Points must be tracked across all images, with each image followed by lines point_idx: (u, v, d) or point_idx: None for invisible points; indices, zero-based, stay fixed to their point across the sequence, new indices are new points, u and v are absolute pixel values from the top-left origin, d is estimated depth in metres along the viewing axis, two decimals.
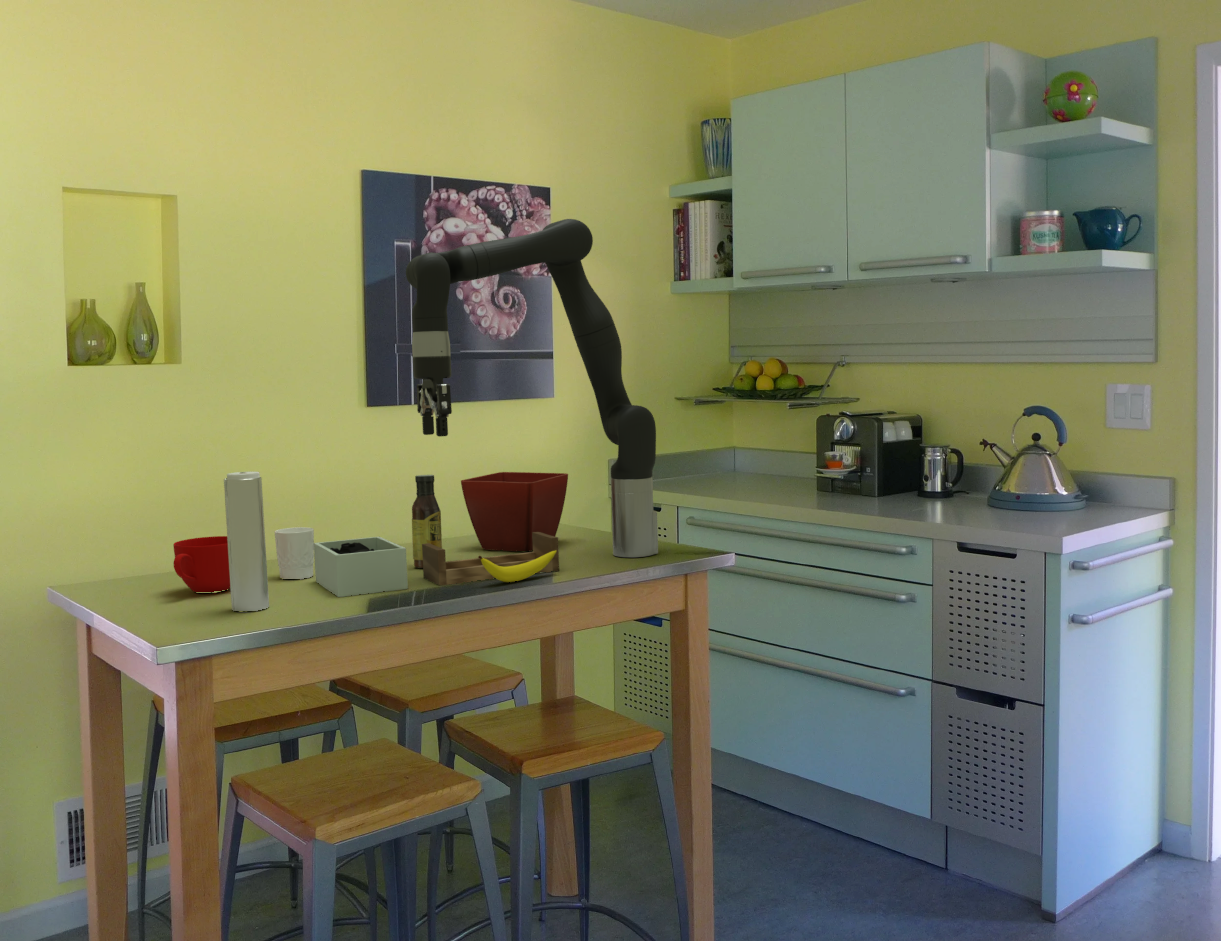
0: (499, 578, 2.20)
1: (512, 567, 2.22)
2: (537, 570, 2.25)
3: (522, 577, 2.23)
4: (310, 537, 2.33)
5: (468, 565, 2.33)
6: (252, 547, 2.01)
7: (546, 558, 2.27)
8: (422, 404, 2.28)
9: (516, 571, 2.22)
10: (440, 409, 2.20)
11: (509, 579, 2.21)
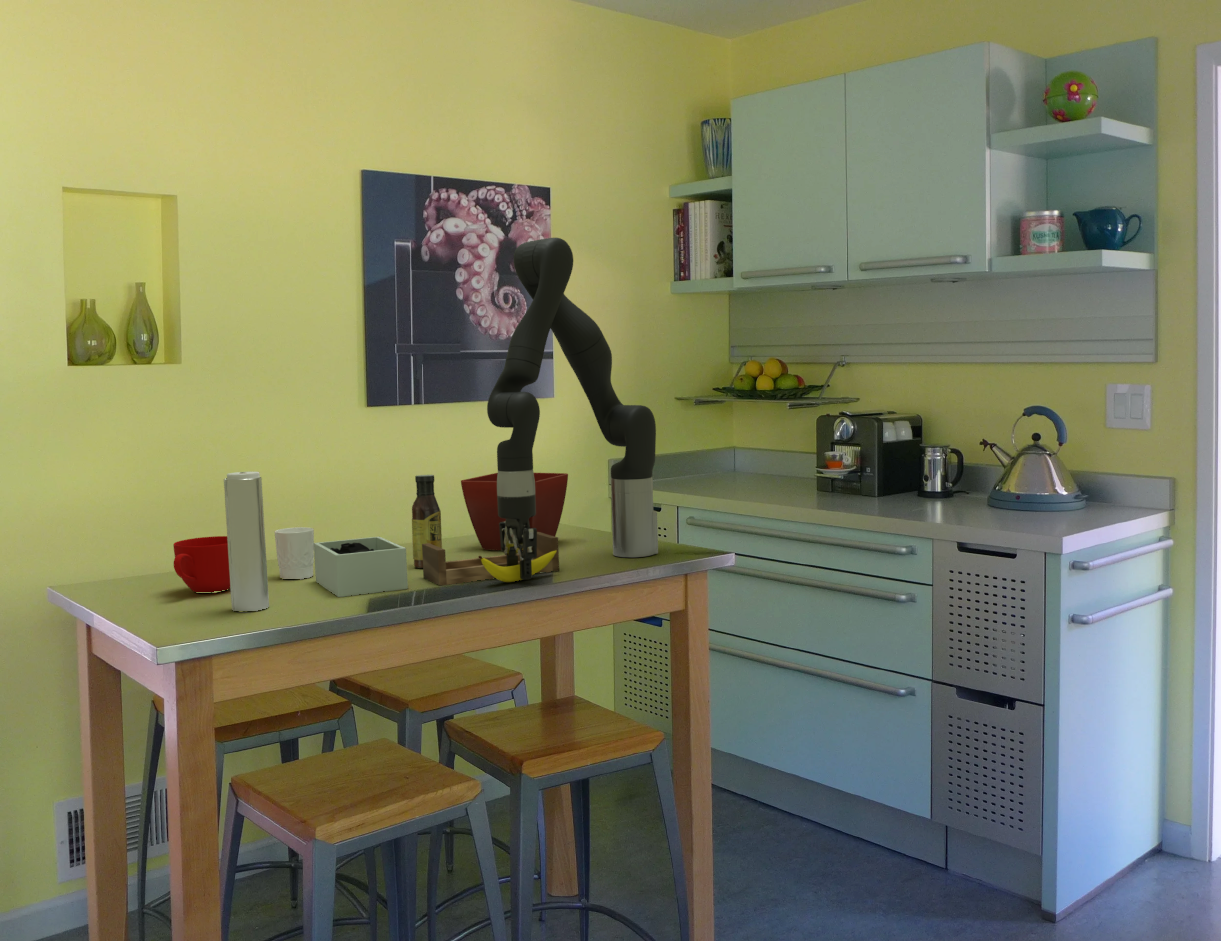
0: (499, 578, 2.20)
1: (512, 567, 2.22)
2: (537, 570, 2.25)
3: None
4: (310, 537, 2.33)
5: (468, 565, 2.33)
6: (252, 547, 2.01)
7: (546, 558, 2.27)
8: (506, 543, 2.24)
9: (516, 571, 2.22)
10: (525, 554, 2.17)
11: (509, 579, 2.21)
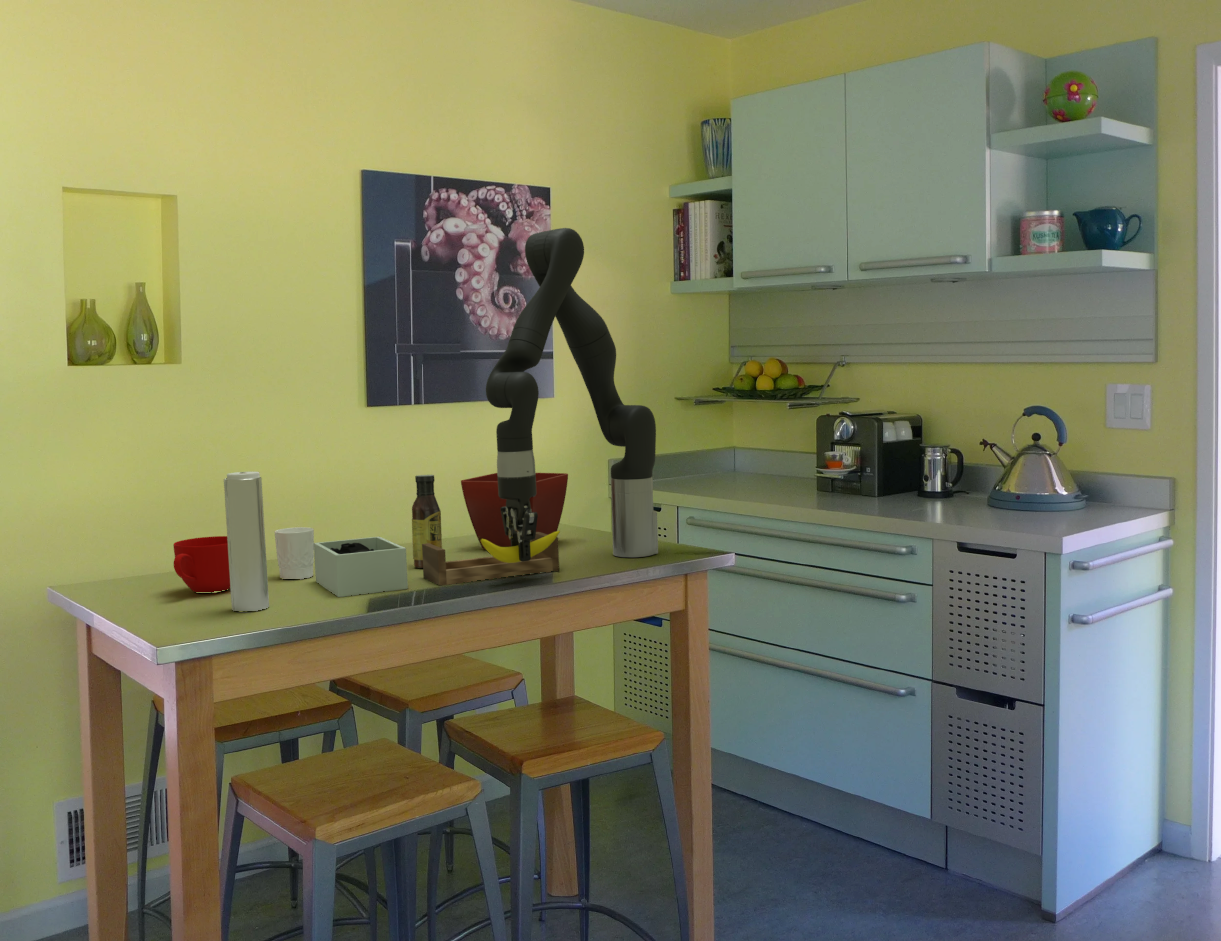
0: (499, 559, 2.20)
1: (513, 548, 2.22)
2: (539, 550, 2.25)
3: None
4: (310, 537, 2.33)
5: (468, 565, 2.33)
6: (252, 547, 2.01)
7: (549, 538, 2.27)
8: (509, 524, 2.24)
9: (517, 552, 2.22)
10: (524, 537, 2.19)
11: (510, 560, 2.21)
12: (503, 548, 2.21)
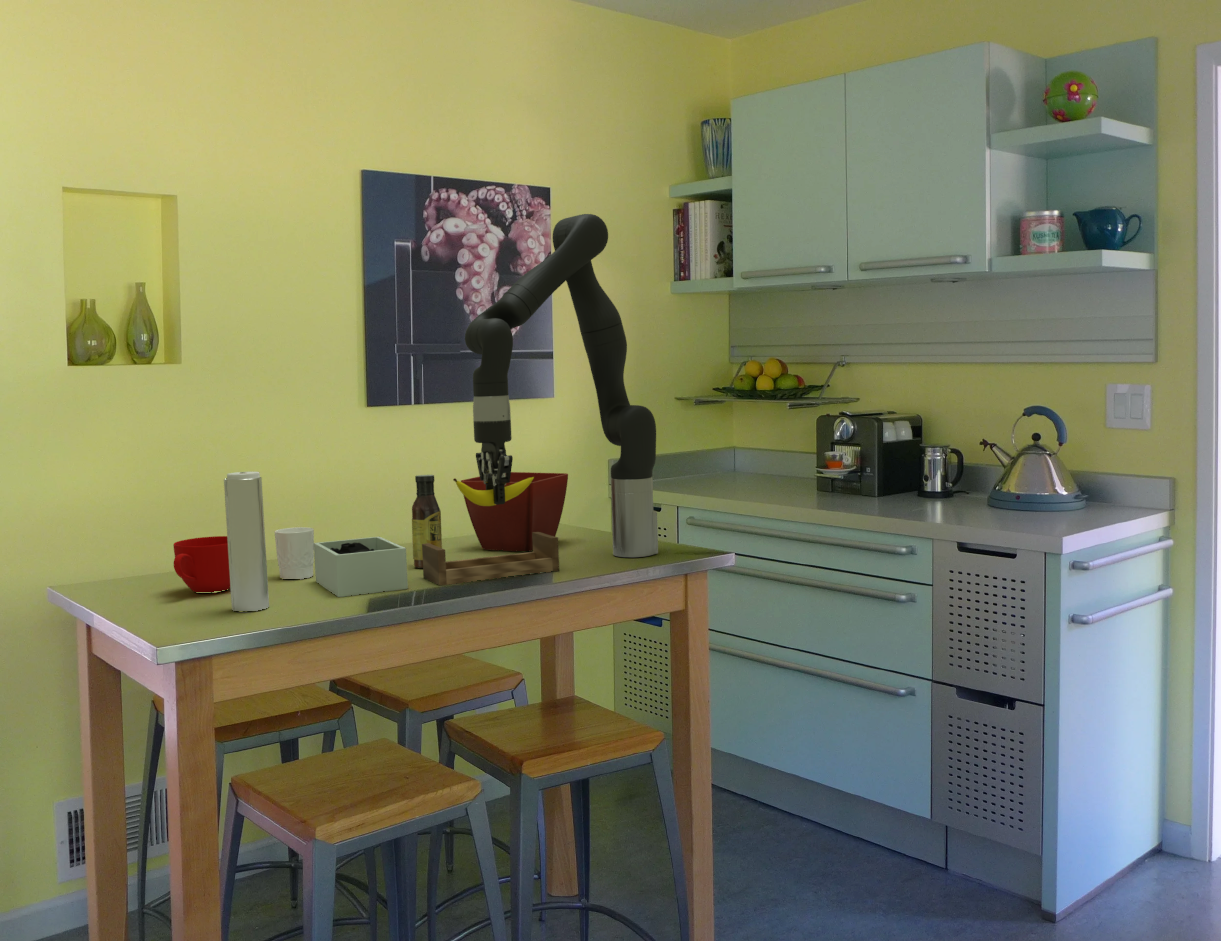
0: (474, 501, 2.25)
1: (488, 491, 2.27)
2: (513, 495, 2.30)
3: None
4: (310, 537, 2.33)
5: (468, 565, 2.33)
6: (252, 547, 2.01)
7: (523, 484, 2.31)
8: (484, 469, 2.28)
9: (492, 495, 2.26)
10: (499, 480, 2.23)
11: (484, 502, 2.25)
12: (478, 491, 2.25)
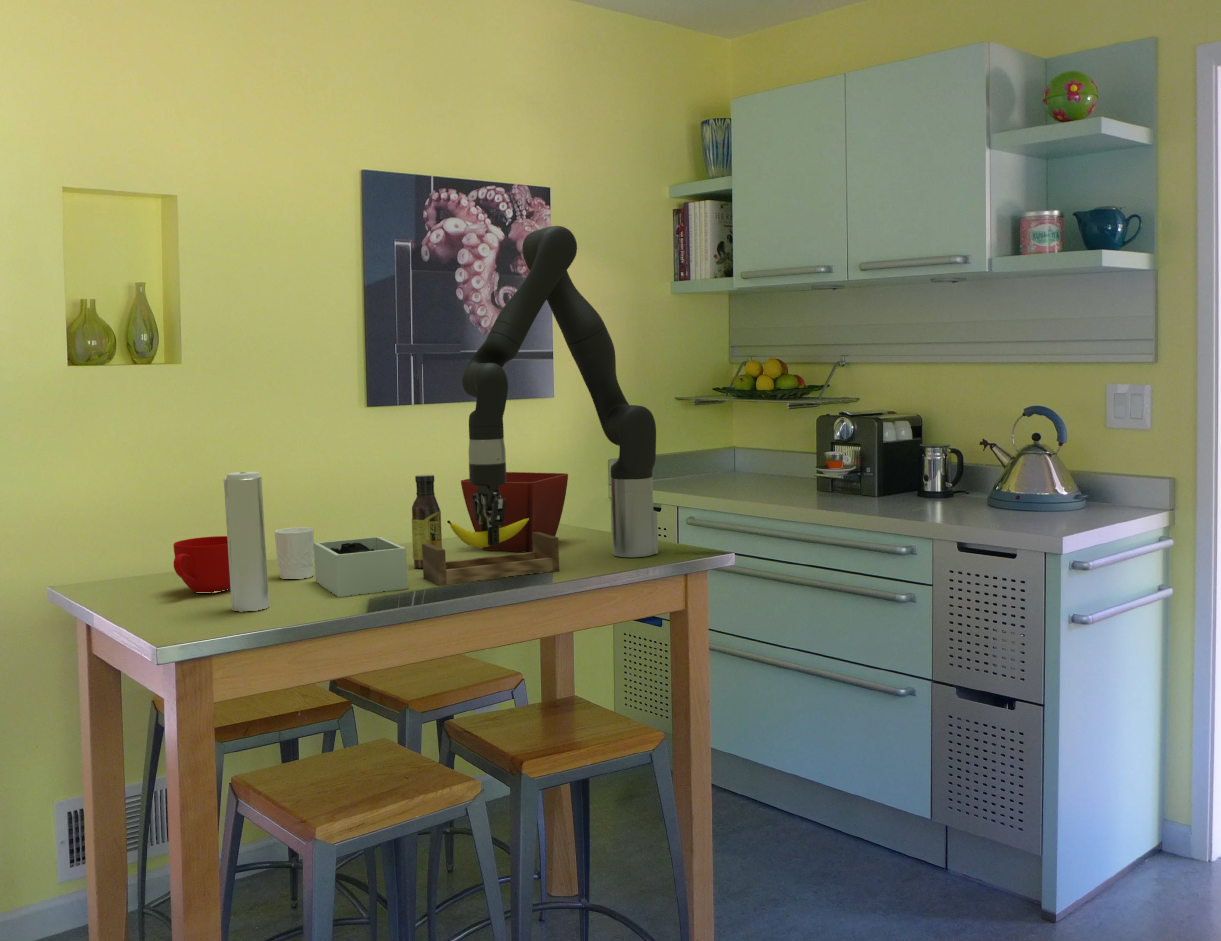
0: (468, 543, 2.28)
1: (482, 533, 2.29)
2: (507, 536, 2.32)
3: None
4: (310, 537, 2.33)
5: (468, 565, 2.33)
6: (252, 547, 2.01)
7: (517, 525, 2.34)
8: (479, 510, 2.31)
9: (485, 537, 2.29)
10: (493, 522, 2.26)
11: (478, 544, 2.28)
12: (472, 533, 2.28)
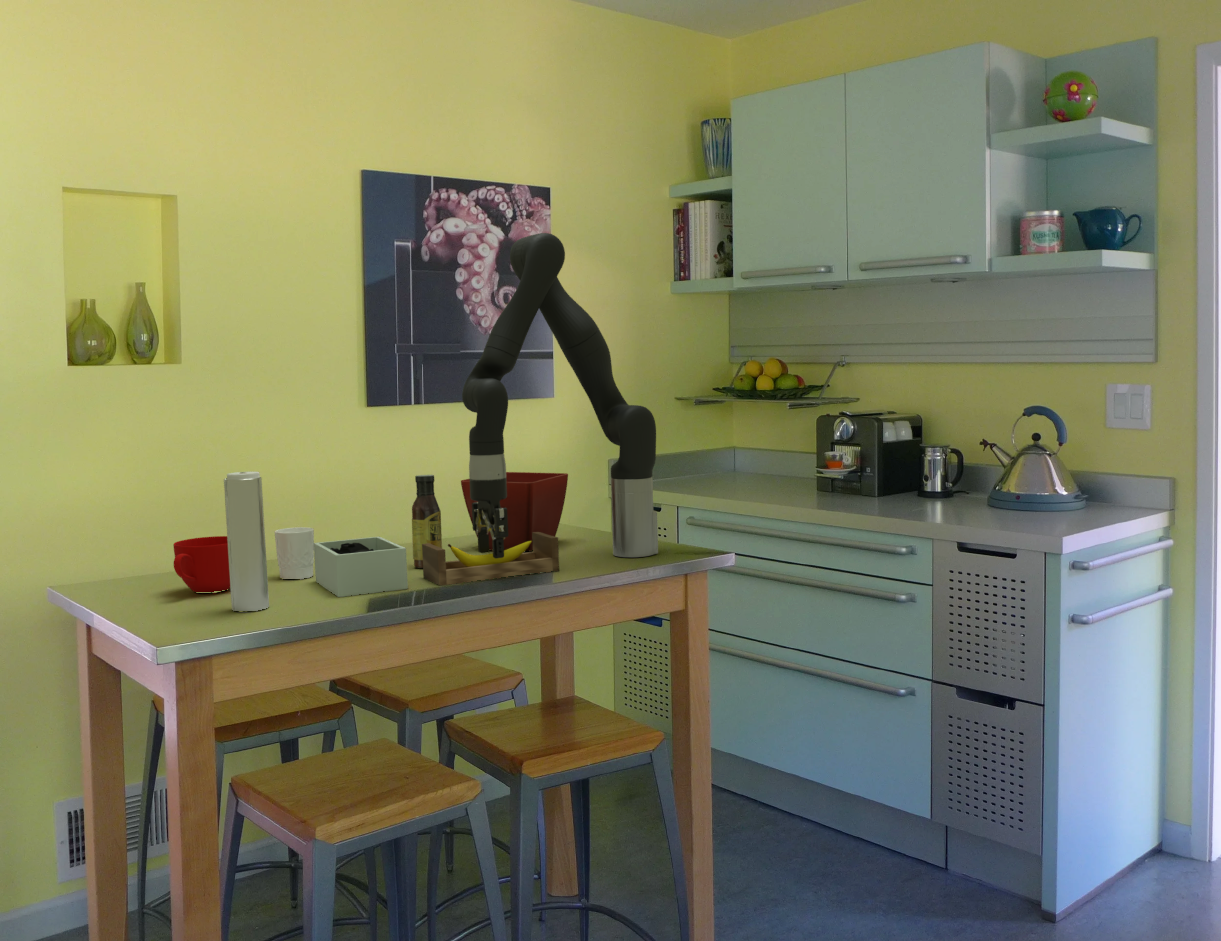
0: (469, 566, 2.28)
1: (483, 556, 2.30)
2: (509, 559, 2.33)
3: None
4: (310, 537, 2.33)
5: None
6: (252, 547, 2.01)
7: (520, 548, 2.34)
8: (478, 523, 2.32)
9: (487, 560, 2.30)
10: (497, 533, 2.24)
11: None
12: (473, 556, 2.29)
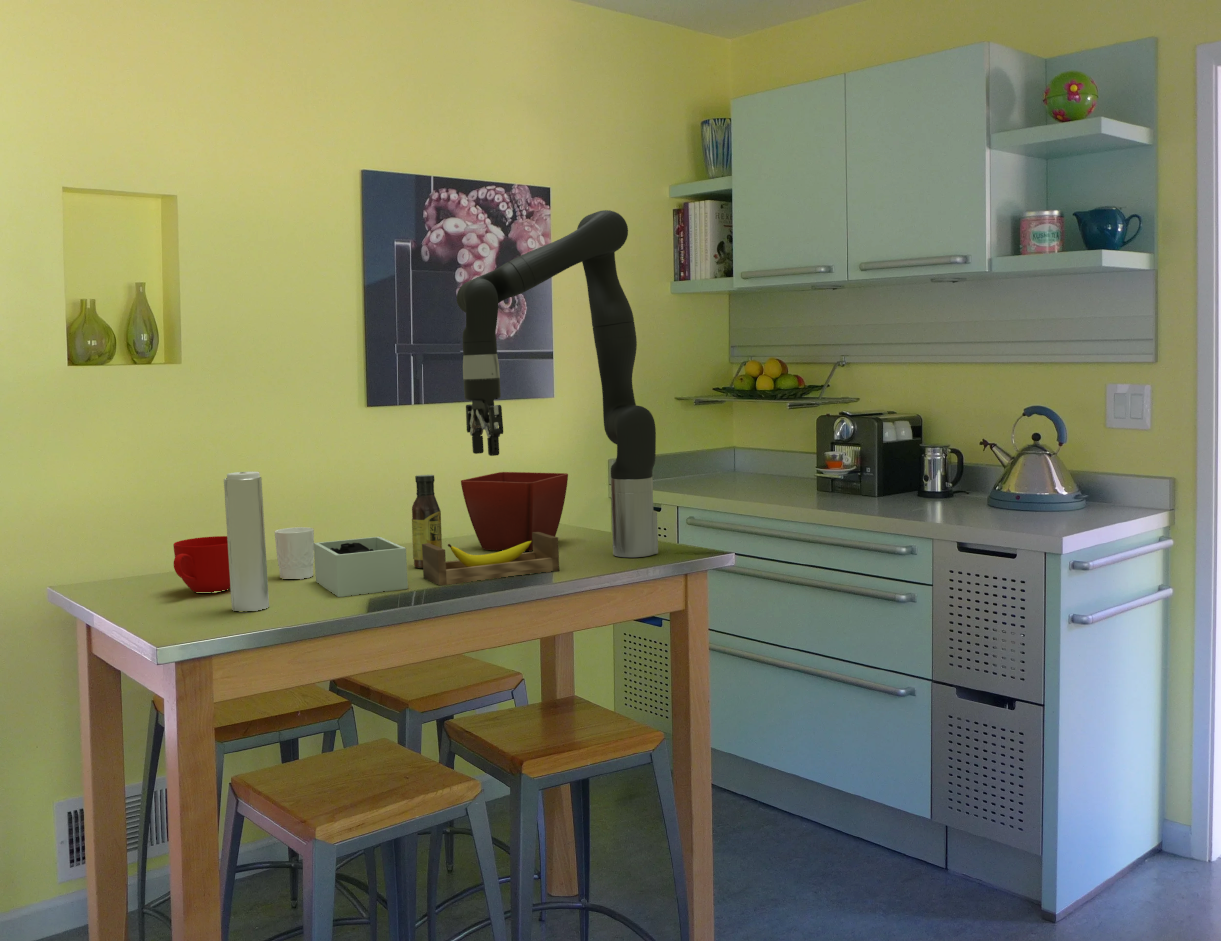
0: (469, 566, 2.28)
1: (483, 556, 2.30)
2: (509, 559, 2.33)
3: None
4: (310, 537, 2.33)
5: None
6: (252, 547, 2.01)
7: (520, 548, 2.34)
8: (472, 424, 2.36)
9: (487, 560, 2.30)
10: (492, 430, 2.28)
11: None
12: (473, 556, 2.29)
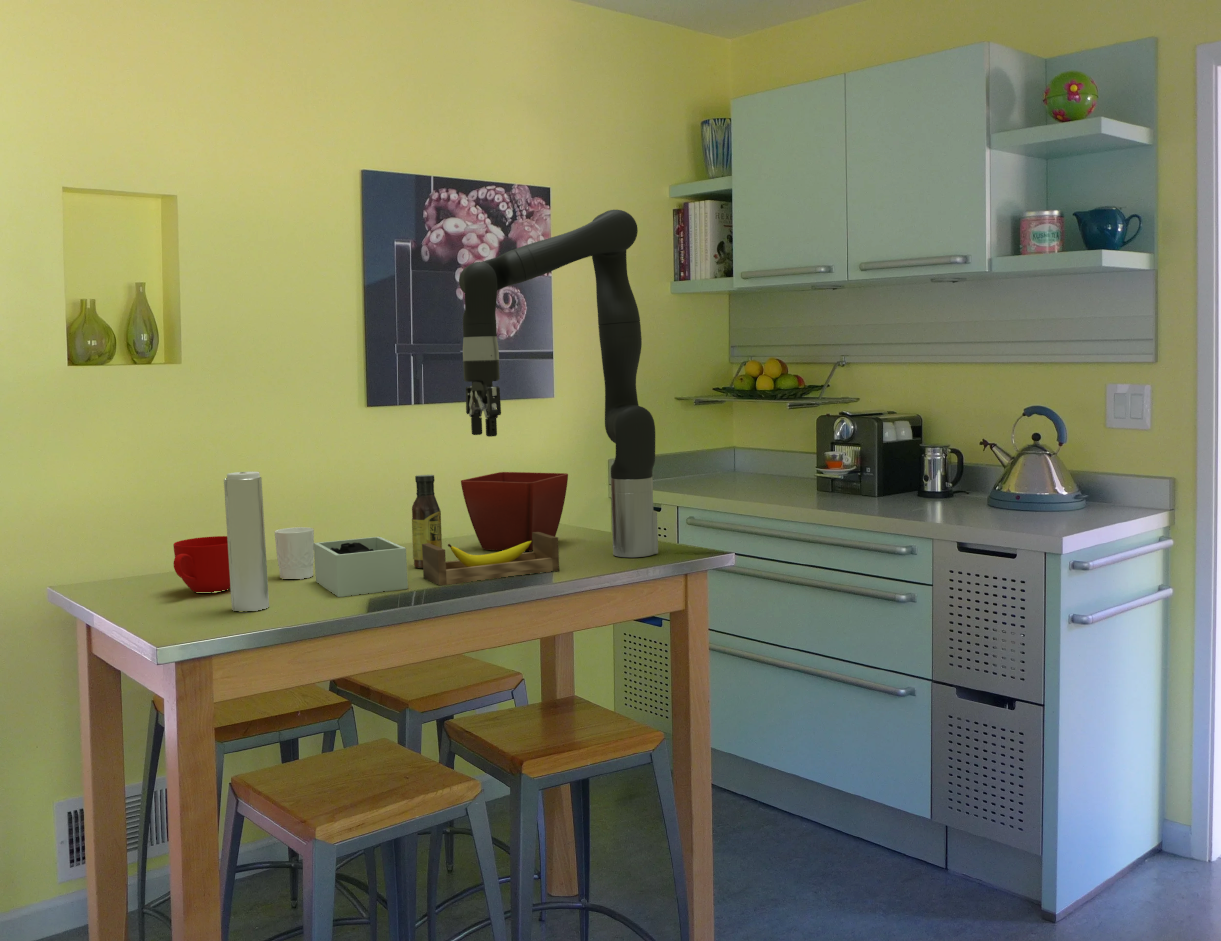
0: (469, 566, 2.28)
1: (483, 556, 2.30)
2: (509, 559, 2.33)
3: None
4: (310, 537, 2.33)
5: None
6: (252, 547, 2.01)
7: (520, 548, 2.34)
8: (471, 406, 2.40)
9: (487, 560, 2.30)
10: (490, 410, 2.31)
11: None
12: (473, 556, 2.29)
